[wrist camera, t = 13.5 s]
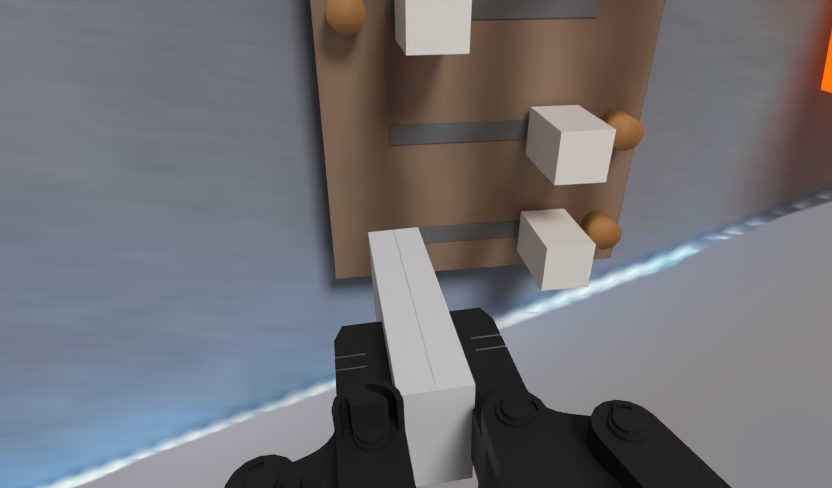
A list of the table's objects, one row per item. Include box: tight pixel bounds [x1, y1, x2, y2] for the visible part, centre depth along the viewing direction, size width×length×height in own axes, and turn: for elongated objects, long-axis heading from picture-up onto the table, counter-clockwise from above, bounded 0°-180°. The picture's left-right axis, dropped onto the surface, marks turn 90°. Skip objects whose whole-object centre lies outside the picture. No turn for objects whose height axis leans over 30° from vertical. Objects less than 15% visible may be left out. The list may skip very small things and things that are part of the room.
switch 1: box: [394, 0, 472, 55], centre depth 26 cm, size 3×3×5 cm
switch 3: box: [517, 209, 596, 291], centre depth 34 cm, size 3×3×5 cm
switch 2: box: [525, 105, 616, 185], centre depth 30 cm, size 3×3×5 cm
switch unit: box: [310, 0, 665, 279], centre depth 33 cm, size 20×20×5 cm
